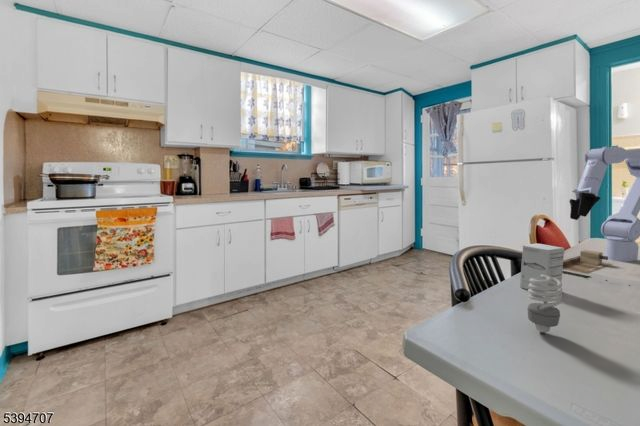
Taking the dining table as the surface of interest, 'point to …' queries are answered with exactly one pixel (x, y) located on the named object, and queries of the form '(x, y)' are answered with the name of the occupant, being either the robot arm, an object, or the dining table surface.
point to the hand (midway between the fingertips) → (577, 217)
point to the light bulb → (544, 312)
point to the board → (581, 267)
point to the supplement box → (541, 263)
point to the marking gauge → (592, 257)
